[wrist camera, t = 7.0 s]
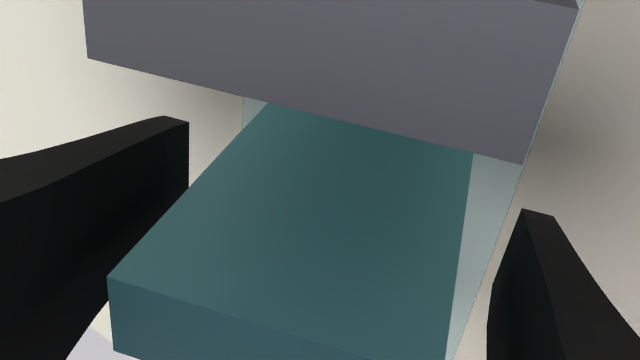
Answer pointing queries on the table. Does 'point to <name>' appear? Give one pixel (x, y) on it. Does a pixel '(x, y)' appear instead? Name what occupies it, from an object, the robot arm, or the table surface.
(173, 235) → the teal domino
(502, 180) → the sage board
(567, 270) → the robot arm
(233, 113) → the table surface
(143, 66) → the black domino
